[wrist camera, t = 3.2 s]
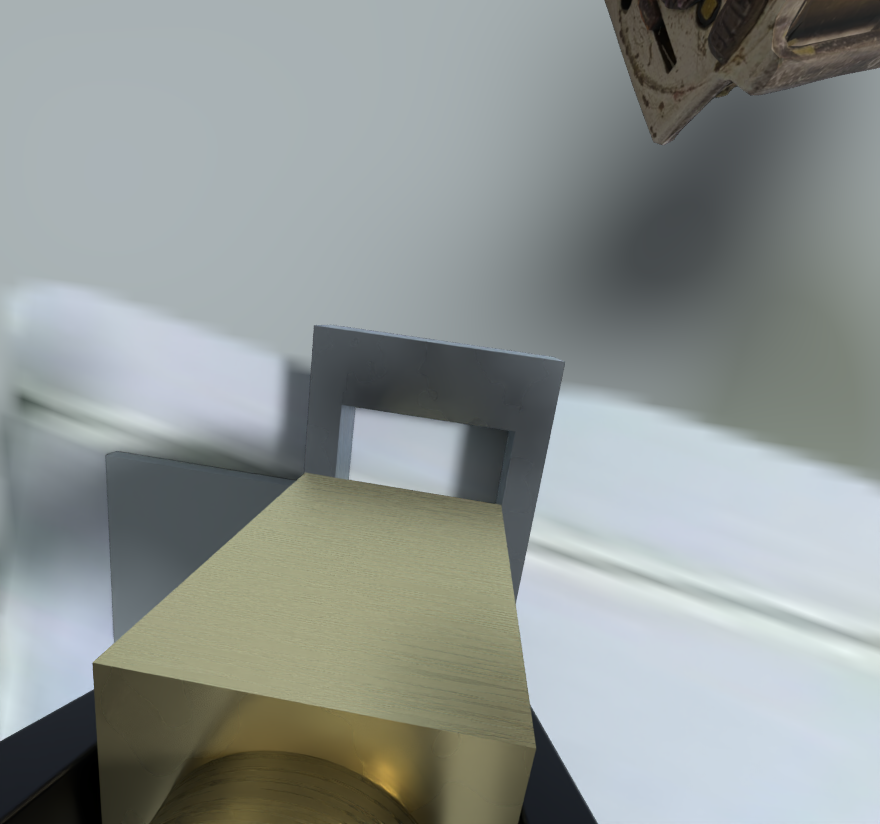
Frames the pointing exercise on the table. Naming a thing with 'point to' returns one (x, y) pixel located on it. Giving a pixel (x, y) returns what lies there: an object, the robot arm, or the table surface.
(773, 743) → the table surface
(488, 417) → the rectangular frame with openings
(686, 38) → the brown piece
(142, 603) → the mat
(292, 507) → the brass cube with knob
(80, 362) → the table surface
